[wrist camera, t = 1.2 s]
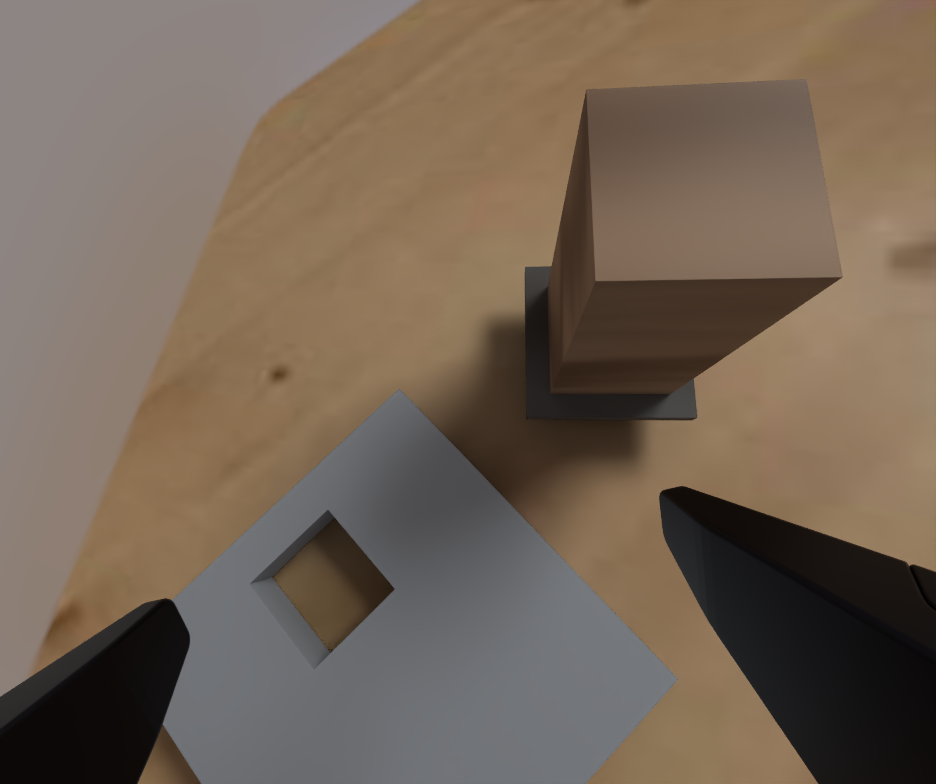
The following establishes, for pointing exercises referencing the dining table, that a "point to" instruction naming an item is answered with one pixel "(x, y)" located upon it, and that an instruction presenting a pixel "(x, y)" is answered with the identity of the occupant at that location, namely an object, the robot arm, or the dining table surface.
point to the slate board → (407, 637)
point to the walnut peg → (675, 245)
